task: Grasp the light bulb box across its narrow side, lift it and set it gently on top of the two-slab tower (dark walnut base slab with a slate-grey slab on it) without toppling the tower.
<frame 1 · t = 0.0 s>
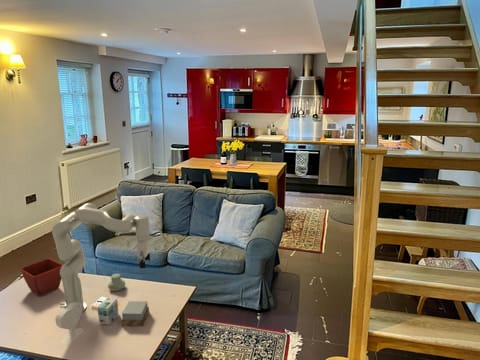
hand: (145, 263, 211), 31 cm above the table, tool pointing down, fingers open, 9 cm apart
air freshener: (117, 289, 242), on the table
light bulb box: (109, 319, 211), on the table
plant pot: (45, 289, 241), on the table
tower base block: (136, 320, 210), on the table, touching tower top block
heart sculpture: (72, 336, 196), on the table
tower top block: (135, 313, 209), point 4 cm above the table, touching tower base block
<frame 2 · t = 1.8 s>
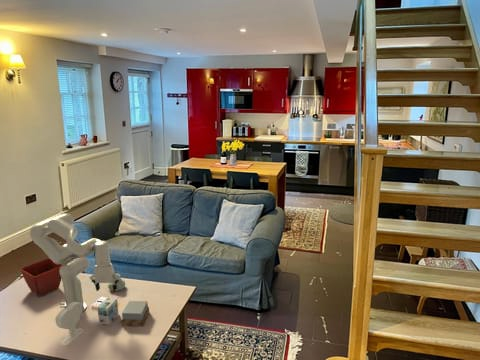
hand: (106, 289, 206), 19 cm above the table, tool pointing down, fingers open, 9 cm apart
tower base block: (136, 320, 210), on the table
tower top block: (135, 313, 209), point 4 cm above the table
everything else where it was.
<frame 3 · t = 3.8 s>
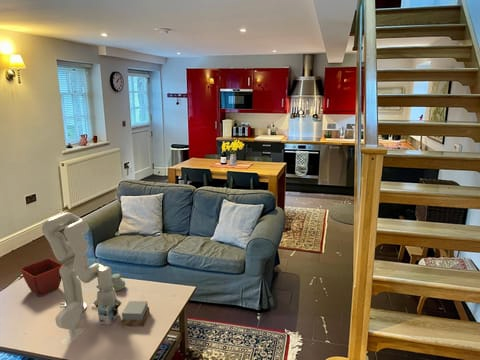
hand: (108, 314, 210), 3 cm above the table, tool pointing down, fingers closed on light bulb box, 7 cm apart
light bulb box: (109, 319, 211), on the table, touching gripper
tower base block: (136, 320, 210), on the table, touching tower top block
tower top block: (135, 313, 209), point 4 cm above the table, touching tower base block
everything else where it was.
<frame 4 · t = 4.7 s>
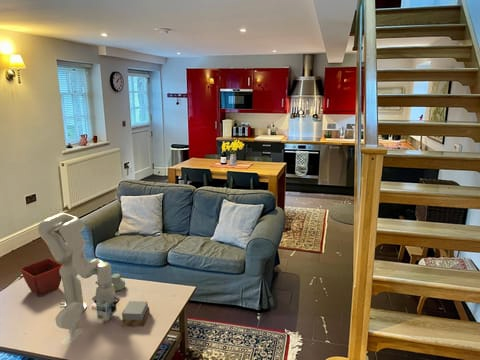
hand: (106, 310, 210), 5 cm above the table, tool pointing down, fingers closed on light bulb box, 7 cm apart
light bulb box: (107, 315, 210), point 2 cm above the table, touching gripper
everything else where it was.
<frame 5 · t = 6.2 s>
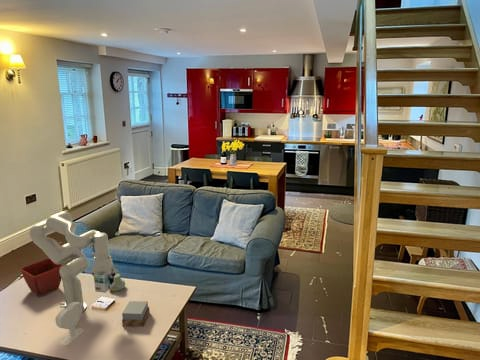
hand: (105, 282, 205), 23 cm above the table, tool pointing down, fingers closed on light bulb box, 7 cm apart
light bulb box: (105, 287, 206), point 20 cm above the table, touching gripper
everything else where it was.
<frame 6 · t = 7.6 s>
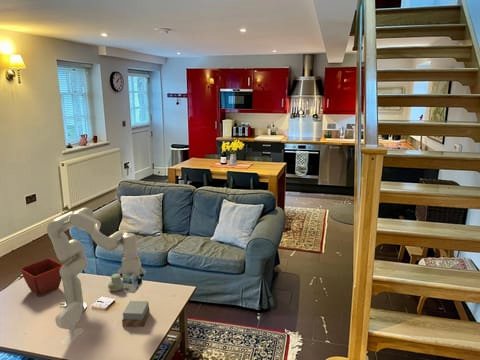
hand: (133, 283, 204), 23 cm above the table, tool pointing down, fingers closed on light bulb box, 7 cm apart
light bulb box: (133, 288, 205), point 20 cm above the table, touching gripper
everything else where it was.
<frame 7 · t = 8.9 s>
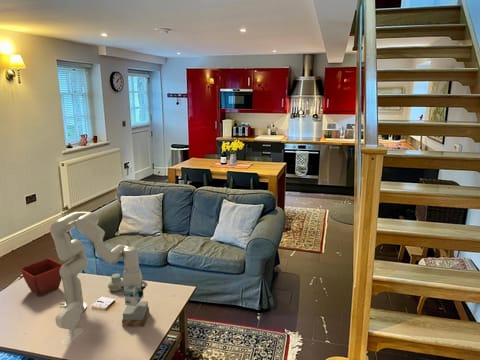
hand: (134, 296, 206), 15 cm above the table, tool pointing down, fingers closed on light bulb box, 7 cm apart
light bulb box: (134, 301, 207), point 12 cm above the table, touching gripper
tower base block: (136, 320, 210), on the table
tower top block: (135, 313, 209), point 4 cm above the table
everything else where it was.
when the fingers open (12 cm above the table, at t = 10.1 s): light bulb box drops 1 cm, resting on tower top block.
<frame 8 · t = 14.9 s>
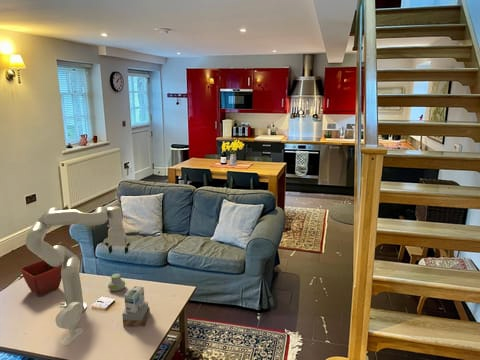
hand: (118, 252, 220), 33 cm above the table, tool pointing down, fingers open, 9 cm apart
light bulb box: (135, 307, 208), point 8 cm above the table, touching tower top block
tower base block: (137, 320, 210), on the table, touching tower top block
tower top block: (135, 313, 209), point 4 cm above the table, touching light bulb box, tower base block
everything else where it was.
at the end: light bulb box 0.4 cm off-centre on the tower top block, point 3.8 cm above the tower top block's base; tower top block 0.4 cm off-centre on the tower base block, point 4.5 cm above the tower base block's base; tower base block moved 0.9 cm from its start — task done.
